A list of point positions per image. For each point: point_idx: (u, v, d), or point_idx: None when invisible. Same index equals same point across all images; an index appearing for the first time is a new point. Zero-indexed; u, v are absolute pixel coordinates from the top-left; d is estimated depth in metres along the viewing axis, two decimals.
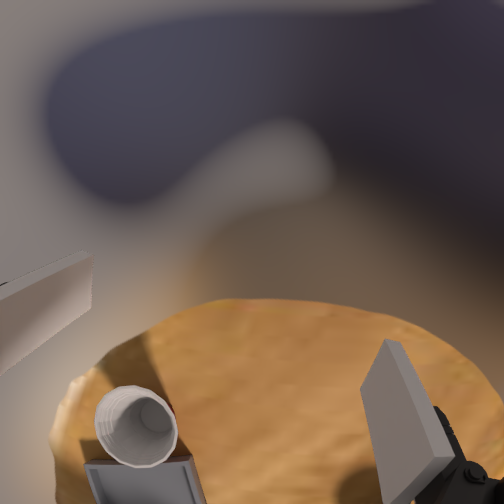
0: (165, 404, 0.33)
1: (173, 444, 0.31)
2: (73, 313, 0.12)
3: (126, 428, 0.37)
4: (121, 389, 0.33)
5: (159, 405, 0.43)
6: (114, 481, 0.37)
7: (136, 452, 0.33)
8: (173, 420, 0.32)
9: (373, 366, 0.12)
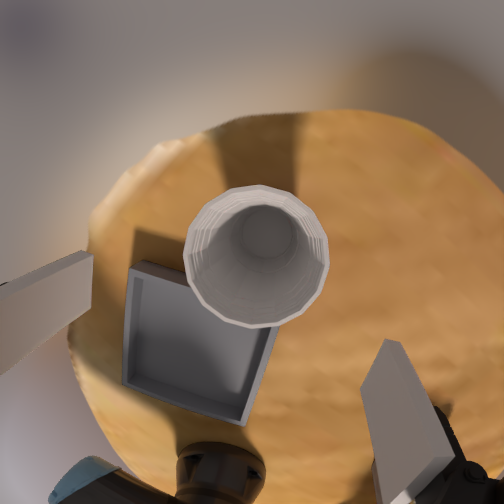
0: (325, 243, 0.22)
1: (303, 307, 0.23)
2: (72, 313, 0.12)
3: (222, 242, 0.30)
4: (263, 190, 0.22)
5: (278, 220, 0.34)
6: (161, 299, 0.37)
7: (229, 289, 0.27)
8: (324, 272, 0.23)
9: (373, 366, 0.12)
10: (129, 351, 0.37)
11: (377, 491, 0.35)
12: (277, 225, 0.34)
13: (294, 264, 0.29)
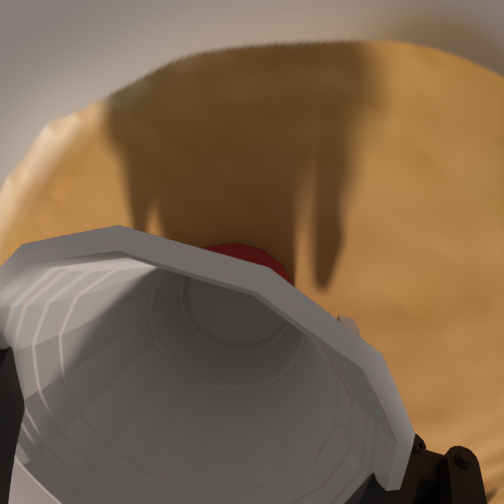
0: (403, 452, 0.05)
1: None
2: None
3: (125, 337, 0.12)
4: (136, 255, 0.04)
5: None
6: None
7: (132, 457, 0.09)
8: None
9: None
10: None
11: None
12: None
13: (291, 392, 0.12)
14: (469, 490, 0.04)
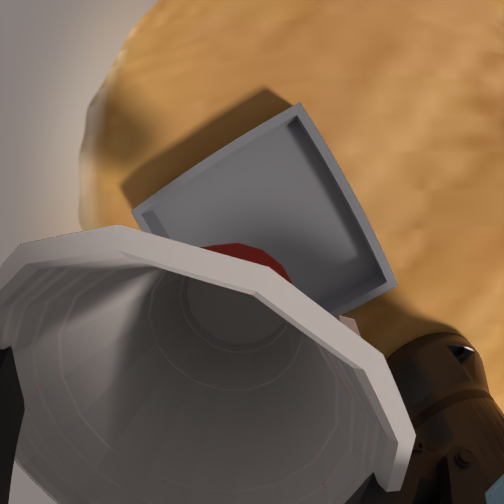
0: (403, 452, 0.04)
1: None
2: None
3: (124, 337, 0.12)
4: (135, 255, 0.04)
5: None
6: (190, 223, 0.30)
7: (132, 458, 0.09)
8: None
9: None
10: None
11: None
12: None
13: (291, 392, 0.11)
14: (469, 490, 0.04)
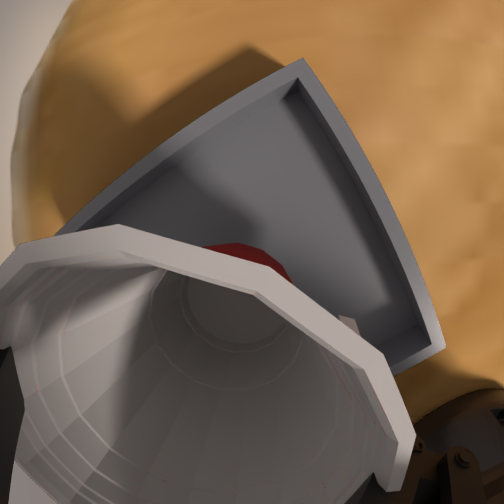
0: (403, 452, 0.04)
1: None
2: None
3: (124, 337, 0.12)
4: (135, 255, 0.04)
5: None
6: None
7: (132, 458, 0.09)
8: None
9: None
10: None
11: None
12: None
13: (291, 392, 0.11)
14: (469, 490, 0.04)
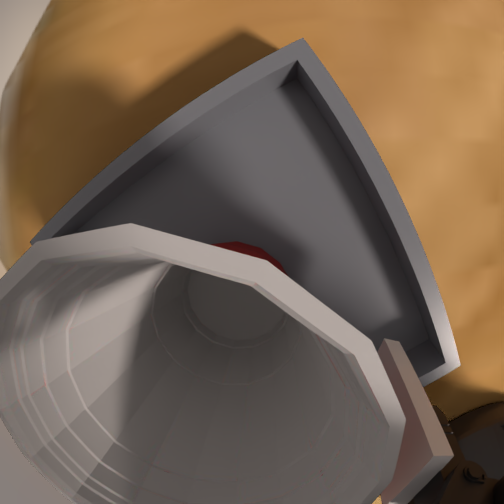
0: (395, 436, 0.05)
1: None
2: None
3: (128, 333, 0.12)
4: (145, 250, 0.05)
5: None
6: None
7: (136, 450, 0.10)
8: (371, 493, 0.05)
9: None
10: None
11: None
12: None
13: (289, 385, 0.12)
14: None
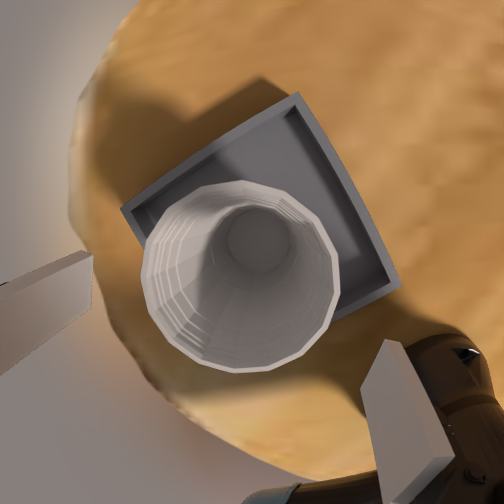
0: (335, 262, 0.16)
1: (303, 347, 0.17)
2: (73, 313, 0.12)
3: (200, 254, 0.23)
4: (247, 188, 0.16)
5: (272, 224, 0.27)
6: None
7: (206, 317, 0.20)
8: (332, 302, 0.16)
9: (373, 366, 0.12)
10: None
11: None
12: (271, 230, 0.27)
13: (292, 282, 0.23)
14: None
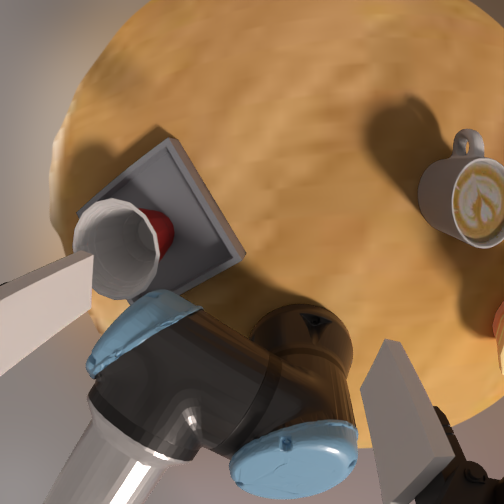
0: (155, 238, 0.30)
1: (145, 285, 0.31)
2: (73, 313, 0.12)
3: (113, 238, 0.37)
4: (114, 202, 0.30)
5: None
6: None
7: (110, 272, 0.35)
8: (156, 259, 0.31)
9: (373, 366, 0.12)
10: None
11: (444, 226, 0.31)
12: None
13: None
14: None
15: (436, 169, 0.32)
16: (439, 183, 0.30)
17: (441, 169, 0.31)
